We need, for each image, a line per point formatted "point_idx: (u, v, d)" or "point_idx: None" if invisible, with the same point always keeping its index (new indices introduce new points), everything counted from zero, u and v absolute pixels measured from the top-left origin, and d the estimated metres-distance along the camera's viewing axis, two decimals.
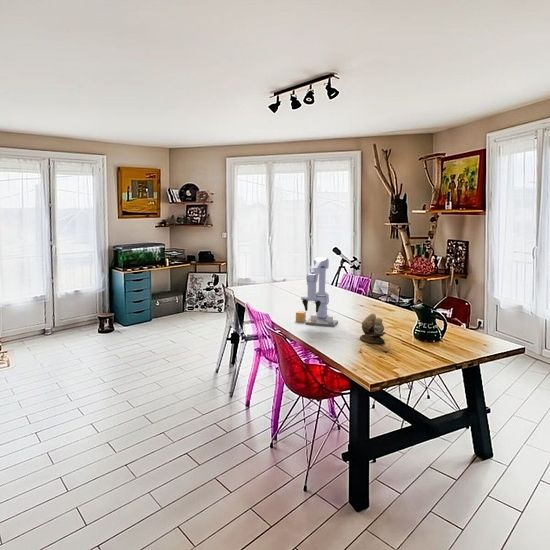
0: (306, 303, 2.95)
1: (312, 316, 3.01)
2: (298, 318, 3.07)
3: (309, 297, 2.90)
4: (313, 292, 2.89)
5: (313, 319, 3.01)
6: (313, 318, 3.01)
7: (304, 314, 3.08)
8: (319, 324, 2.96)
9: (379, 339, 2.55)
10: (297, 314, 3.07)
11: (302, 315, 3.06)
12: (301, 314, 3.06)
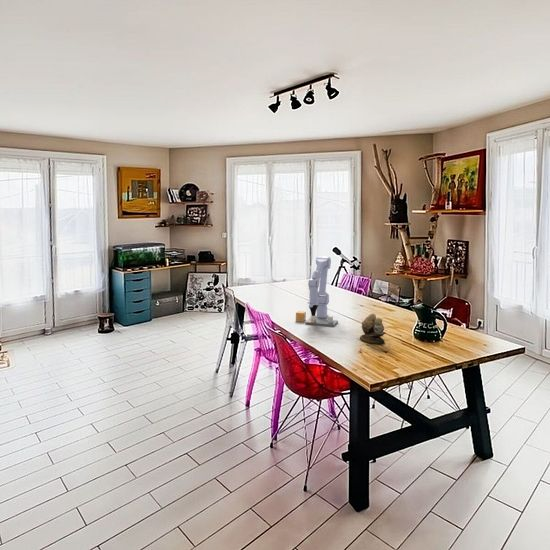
0: None
1: (312, 317, 3.01)
2: (298, 318, 3.07)
3: None
4: (310, 296, 2.99)
5: (313, 320, 3.01)
6: (313, 319, 3.01)
7: (304, 314, 3.08)
8: (319, 324, 2.96)
9: (379, 339, 2.55)
10: (297, 314, 3.07)
11: (302, 315, 3.06)
12: (301, 314, 3.06)
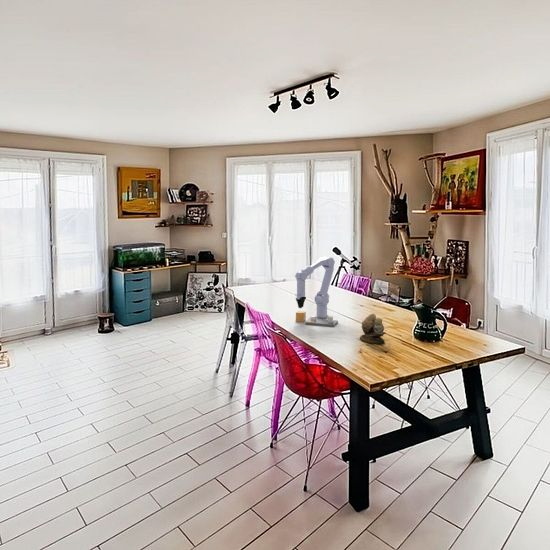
0: None
1: (312, 317, 3.01)
2: (298, 318, 3.07)
3: None
4: (297, 289, 3.05)
5: (313, 320, 3.01)
6: (313, 319, 3.01)
7: (304, 314, 3.08)
8: (319, 324, 2.96)
9: (379, 339, 2.55)
10: (297, 314, 3.07)
11: (302, 315, 3.06)
12: (301, 314, 3.06)
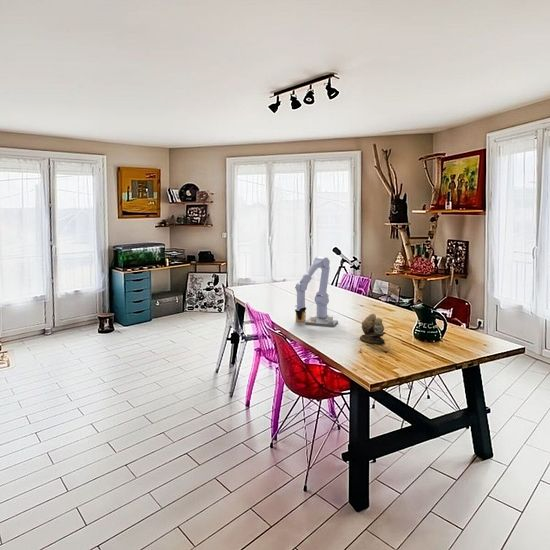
0: None
1: (312, 317, 3.01)
2: None
3: None
4: (297, 300, 3.06)
5: (313, 320, 3.01)
6: (313, 319, 3.01)
7: (304, 314, 3.08)
8: (319, 324, 2.96)
9: (379, 339, 2.55)
10: None
11: (302, 315, 3.06)
12: None
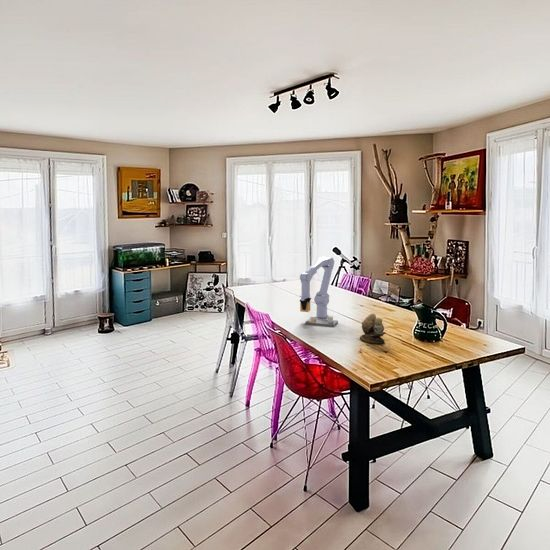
0: None
1: (312, 317, 3.01)
2: None
3: None
4: (302, 290, 3.03)
5: (313, 320, 3.01)
6: (313, 319, 3.01)
7: (309, 304, 3.04)
8: (319, 324, 2.96)
9: (379, 339, 2.55)
10: None
11: (306, 305, 3.02)
12: None
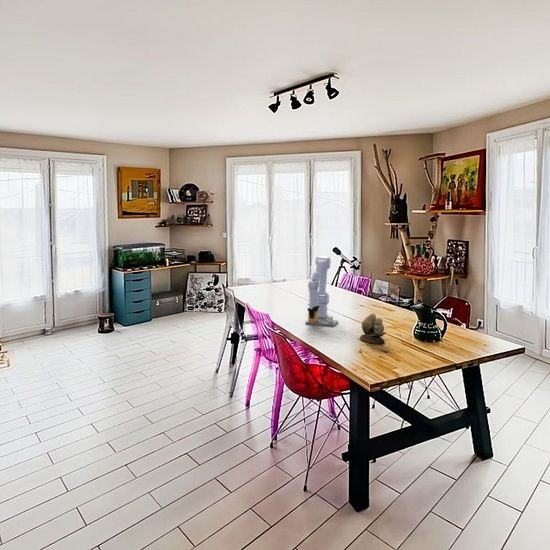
0: (314, 308, 3.05)
1: None
2: None
3: None
4: (310, 298, 3.00)
5: None
6: None
7: (317, 314, 3.01)
8: (319, 324, 2.96)
9: (379, 339, 2.55)
10: None
11: (314, 314, 2.99)
12: (314, 314, 2.99)
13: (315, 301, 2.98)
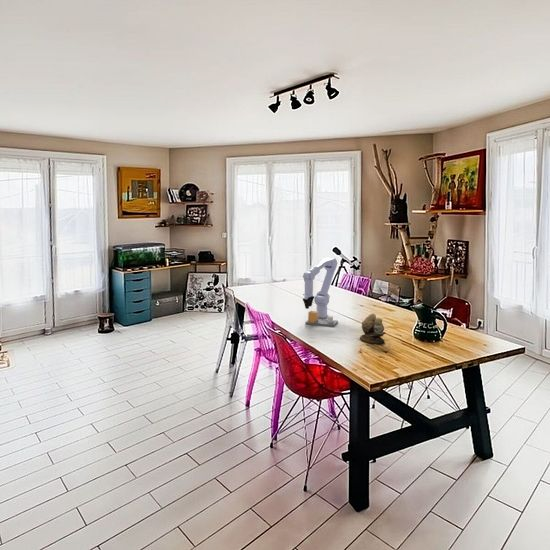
0: (309, 299, 3.11)
1: None
2: (311, 318, 3.01)
3: None
4: (305, 289, 3.05)
5: None
6: None
7: (317, 314, 3.01)
8: (319, 324, 2.96)
9: (379, 339, 2.55)
10: (310, 314, 3.00)
11: (314, 314, 2.99)
12: (314, 314, 2.99)
13: (310, 291, 3.04)
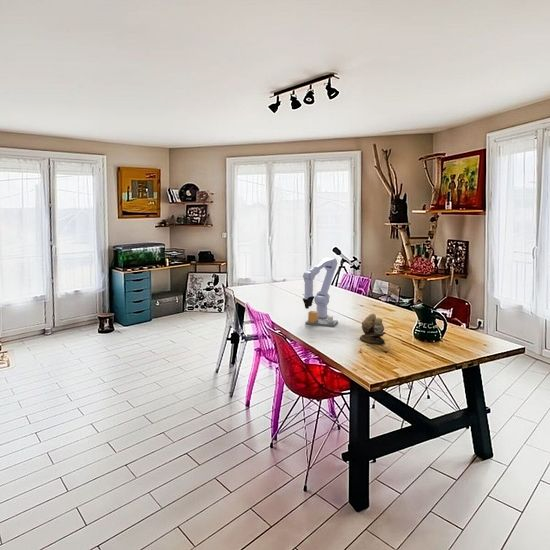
0: (309, 299, 3.11)
1: None
2: (311, 318, 3.01)
3: None
4: (305, 288, 3.05)
5: None
6: None
7: (317, 314, 3.01)
8: (319, 324, 2.96)
9: (379, 339, 2.55)
10: (310, 314, 3.00)
11: (314, 314, 2.99)
12: (314, 314, 2.99)
13: (310, 291, 3.04)
